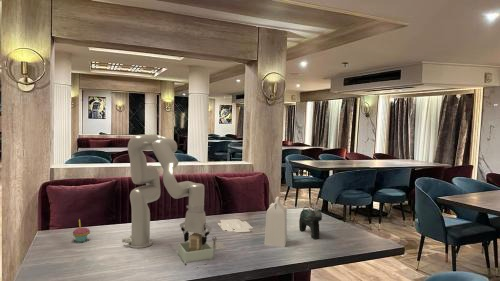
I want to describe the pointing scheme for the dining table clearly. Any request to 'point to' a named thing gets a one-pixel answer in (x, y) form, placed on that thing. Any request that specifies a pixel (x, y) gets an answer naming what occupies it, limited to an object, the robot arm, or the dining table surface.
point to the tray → (234, 225)
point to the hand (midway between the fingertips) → (195, 242)
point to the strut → (195, 242)
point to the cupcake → (80, 233)
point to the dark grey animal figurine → (310, 221)
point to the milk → (276, 225)
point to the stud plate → (216, 244)
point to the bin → (194, 253)
